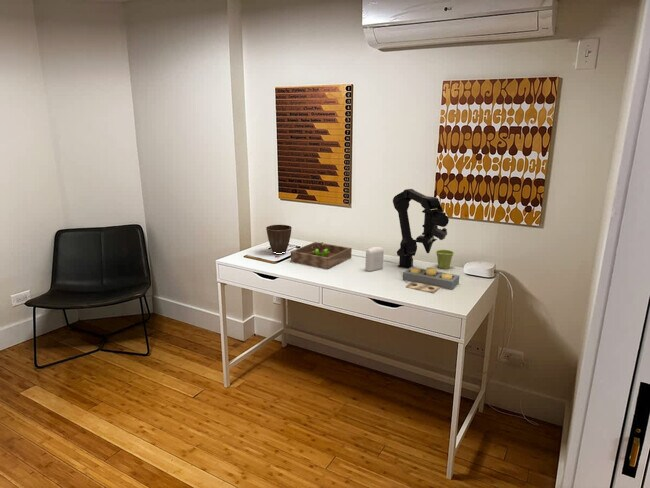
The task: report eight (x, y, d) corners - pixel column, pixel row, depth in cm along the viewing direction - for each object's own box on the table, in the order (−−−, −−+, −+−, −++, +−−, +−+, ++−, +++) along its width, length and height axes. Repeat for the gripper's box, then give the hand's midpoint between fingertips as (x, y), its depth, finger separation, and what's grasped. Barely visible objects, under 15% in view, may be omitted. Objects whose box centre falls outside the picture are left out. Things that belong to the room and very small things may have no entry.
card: (405, 287, 217) (405, 285, 217) (412, 282, 224) (412, 281, 224) (433, 293, 210) (434, 291, 210) (439, 288, 217) (439, 286, 216)
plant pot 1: (295, 251, 277) (295, 225, 273) (286, 258, 264) (285, 231, 259) (273, 249, 282) (272, 223, 278) (262, 255, 268) (261, 229, 264)
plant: (308, 267, 249) (307, 247, 246) (300, 257, 267) (300, 238, 264) (343, 264, 254) (343, 244, 251) (333, 254, 272) (333, 236, 269)
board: (402, 280, 228) (402, 272, 227) (410, 274, 237) (411, 266, 236) (451, 289, 215) (452, 281, 214) (458, 283, 224) (459, 275, 223)
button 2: (424, 277, 224) (424, 269, 223) (427, 274, 228) (428, 266, 227) (433, 279, 222) (434, 271, 221) (437, 276, 226) (437, 268, 225)
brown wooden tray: (290, 261, 257) (290, 251, 255) (315, 251, 277) (315, 241, 275) (328, 269, 244) (328, 258, 242) (351, 258, 264) (351, 248, 262)
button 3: (439, 283, 220) (440, 275, 219) (443, 280, 225) (443, 272, 224) (449, 285, 218) (450, 277, 217) (453, 282, 222) (453, 274, 221)
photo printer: (378, 266, 248) (379, 244, 245) (384, 268, 245) (385, 246, 242) (364, 270, 243) (364, 247, 240) (369, 272, 239) (369, 249, 236)
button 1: (408, 277, 229) (409, 269, 228) (412, 274, 233) (412, 267, 232) (418, 279, 226) (418, 271, 225) (421, 276, 230) (422, 269, 229)
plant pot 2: (440, 270, 242) (441, 255, 240) (431, 265, 251) (432, 250, 249) (455, 269, 245) (457, 253, 242) (446, 264, 253) (448, 249, 251)
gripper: (438, 228, 214) (436, 260, 218) (452, 221, 229) (450, 251, 233) (416, 225, 220) (414, 256, 225) (431, 218, 235) (429, 248, 239)
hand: (427, 253), depth 230 cm, fingers closed
